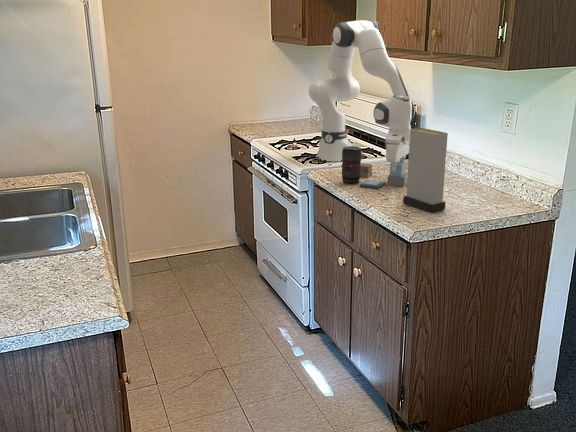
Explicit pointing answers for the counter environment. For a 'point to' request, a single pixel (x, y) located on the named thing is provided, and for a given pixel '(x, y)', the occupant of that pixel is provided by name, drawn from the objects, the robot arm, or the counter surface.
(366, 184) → the tile
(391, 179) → the riser block
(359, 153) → the camera lens
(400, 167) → the slate blue cube
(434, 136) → the container
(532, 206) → the counter surface
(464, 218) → the counter surface
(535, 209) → the counter surface
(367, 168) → the walnut cube
